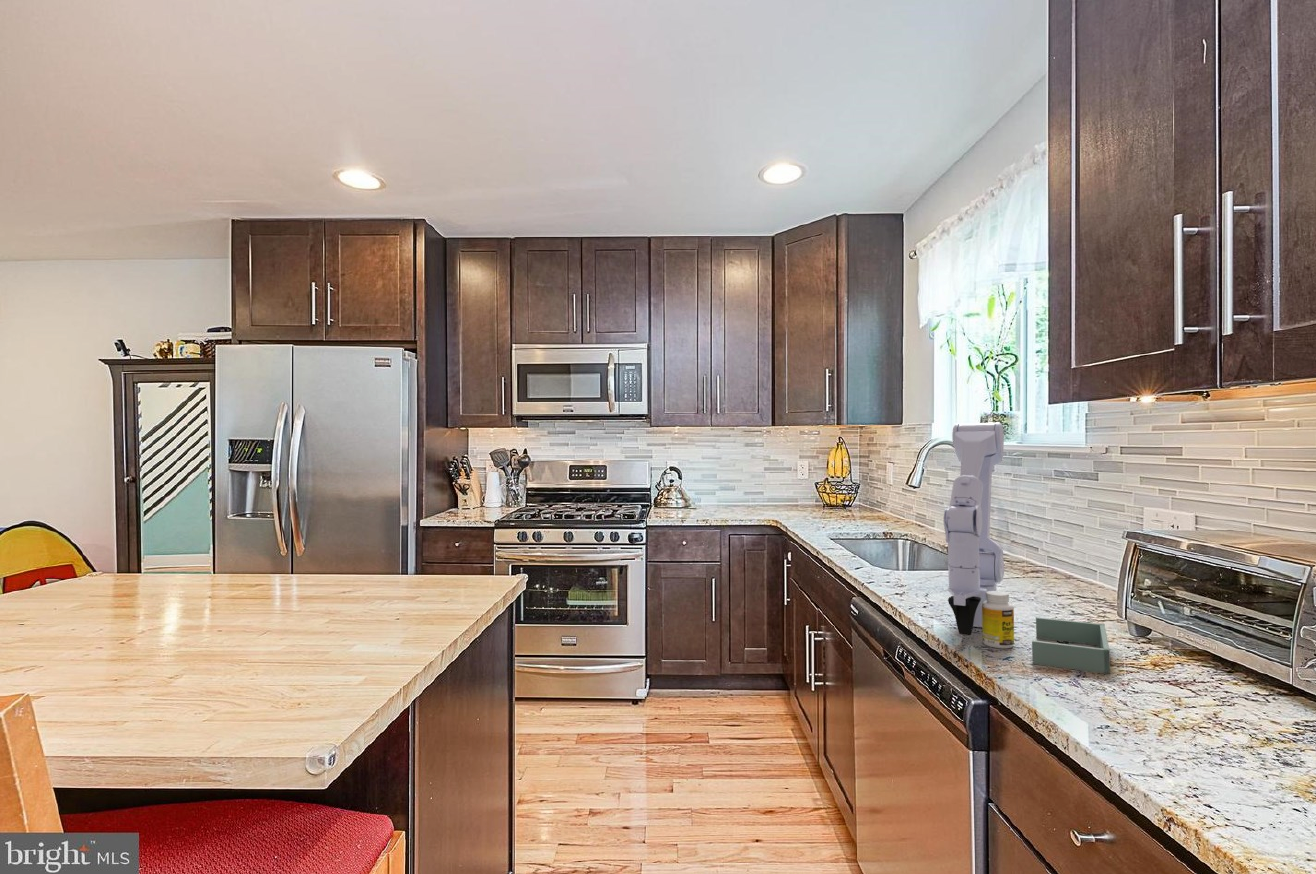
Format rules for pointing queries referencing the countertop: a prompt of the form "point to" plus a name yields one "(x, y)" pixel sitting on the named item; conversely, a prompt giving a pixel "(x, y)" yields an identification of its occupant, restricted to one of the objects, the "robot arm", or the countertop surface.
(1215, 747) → the countertop surface
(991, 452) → the robot arm
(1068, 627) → the u-shaped frame
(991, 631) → the supplement bottle
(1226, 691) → the countertop surface
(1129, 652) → the countertop surface
